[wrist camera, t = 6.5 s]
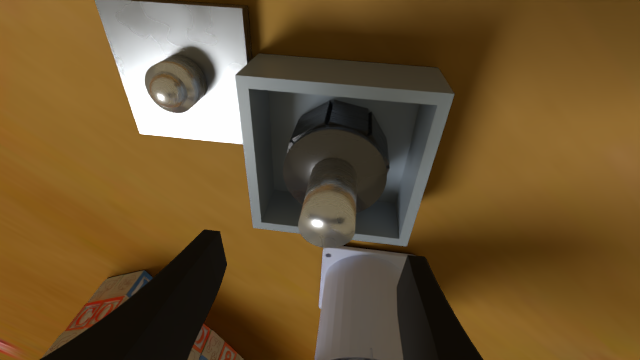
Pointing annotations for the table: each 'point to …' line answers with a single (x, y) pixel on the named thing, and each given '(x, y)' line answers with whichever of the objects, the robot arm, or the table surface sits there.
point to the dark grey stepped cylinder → (335, 170)
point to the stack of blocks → (208, 350)
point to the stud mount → (180, 64)
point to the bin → (354, 88)
